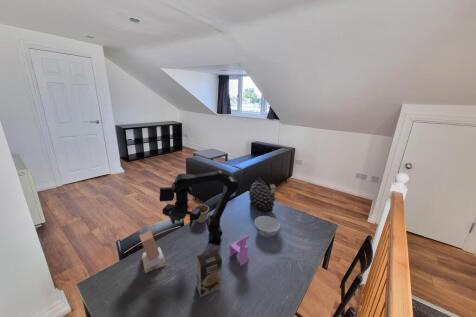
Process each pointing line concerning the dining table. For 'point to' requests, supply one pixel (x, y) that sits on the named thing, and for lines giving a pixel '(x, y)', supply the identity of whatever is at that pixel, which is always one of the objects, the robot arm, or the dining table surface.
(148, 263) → the top slab
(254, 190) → the dark pinecone ornament
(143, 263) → the bottom slab
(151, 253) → the pillar
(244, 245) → the toy chair
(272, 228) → the chinaware
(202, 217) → the flower pot
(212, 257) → the coffee box
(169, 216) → the robot arm
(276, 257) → the dining table surface
